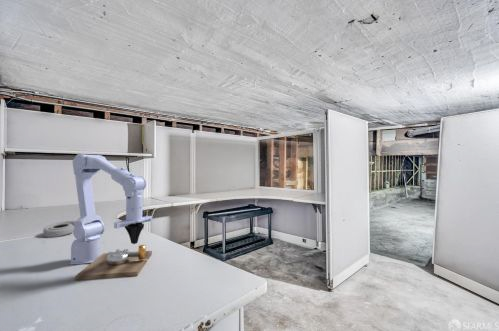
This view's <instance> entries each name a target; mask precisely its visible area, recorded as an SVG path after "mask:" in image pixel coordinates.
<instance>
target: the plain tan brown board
mask: <svg viewBox="0 0 499 331" xmlns="http://www.w3.org/2000/svg"><path fill="white" fill-rule="evenodd" d="M129 252H130V253H138V251H129ZM152 254H153V251H152V250H146V258H145V259H143V260H139V259H138V257H130V260H129V261H128V262H126V263H124V264H120V265H108V264H107V255H108V252H107V253H102V254H100V255H101V256H99V257H98V258H97V259H96V260H94V261H93V262H92V263H88V265H87V266H86V267H84V268H83V269H82V270H81V271H80V272H77V274H76V275H75V276H74V281H87V280H99V279H100V280H102V279H117V278H124V277H125V278H127V277H128V278H129V277H138V276H139V274H140V273H141V272H142V269H143V268H144V267H145V265H146V263H147V262H148V261H149V260H150V258H151V256H152Z"/></svg>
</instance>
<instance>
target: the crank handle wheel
mask: <svg viewBox="0 0 499 331" xmlns="http://www.w3.org/2000/svg"><path fill="white" fill-rule="evenodd" d="M146 248H147V246H146V244H140V245H138V251H137V252H138V253H130V252H131V251H129V248H125V249H123V250H120V248H117V249H115V251H109V252H107V253H108V255H107V264H108V265H120V264H124V263H126V262H128V261H129V260H130V257H138V259H139V260H143V259H145V258H146V251H147V249H146Z"/></svg>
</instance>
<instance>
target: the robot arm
mask: <svg viewBox="0 0 499 331" xmlns="http://www.w3.org/2000/svg"><path fill="white" fill-rule="evenodd" d="M71 163H72V167H73V174H74V177H75V178H74V179H75V184H76V186H75V187H76V192H77V193H76V194H77V201H78V207H79V208H78V209H79V216H80V217H79V218H77V220H75V221H76V222H75V223H74V231H73V232H72V233H73V237H74V239H75V240H73V241H72V243H71V246H70V263H69V265H83V264H91V263H92V262H93V261H94V260H96V259H97V258H98V257H99V256H101V255H102V254H101V251H100V250H101V246H100V244H101V241H100V240H101V239H100V238H102V235H103V233H104V232H105V229H106V228H105V224H104V222H103V218H102V216H100V215H98V214H96V213H97V212H96V204H95V200H94V198H95V197H94V190H93V184H92V177H93V176H94V175H95V174H97V173H98V172H99V171H103V172H104V173H107V174H108V175H110V176H111V179H112V180H113V181H115V182H116V183H117V184H119V185H120V186H122V190H123V191H124V196H125V197H126V199H125V208H126V209H125V219H123V220H120V221H115V222H113V228H114V229H120V228H123V227H124V229H125V230H126V231H127V234H128V237H129V239H130V240H129V241H130V244H132V245H136V244H138V242H139V238H140V235H141V233H142V231H143V228H144V227H145V224H144V223H148V222H153V216H152V215H147V216H143V198H144V197H143V194H144V193H143V191H144V190H145V188H146V186H147V182H146V179H145V178H144V177H143V176H139V175H138V176H136V174H135V173H133V172H132V173H131V172H130V171H128V170H127V168H126V167H117V166H115V165H114V164H112V163H111V162H110V161H109V160H107V158H106V157H105V156H103V155H101V154H84V153H83V154H82V153H77V154H76V155H75V157H74V158H73V160H72V162H71Z"/></svg>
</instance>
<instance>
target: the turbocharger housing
mask: <svg viewBox="0 0 499 331" xmlns="http://www.w3.org/2000/svg"><path fill="white" fill-rule="evenodd" d="M76 221H77V220H65V221H60V222H56V223H55V222H54V223H51V224H49V225H47V226H45V227H44V228H43V230H42V232H43V234H42V235H43V237H45V238H58V237H65V236H68V235H70V234H72V233H73V232H74V223H75V222H76Z"/></svg>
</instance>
